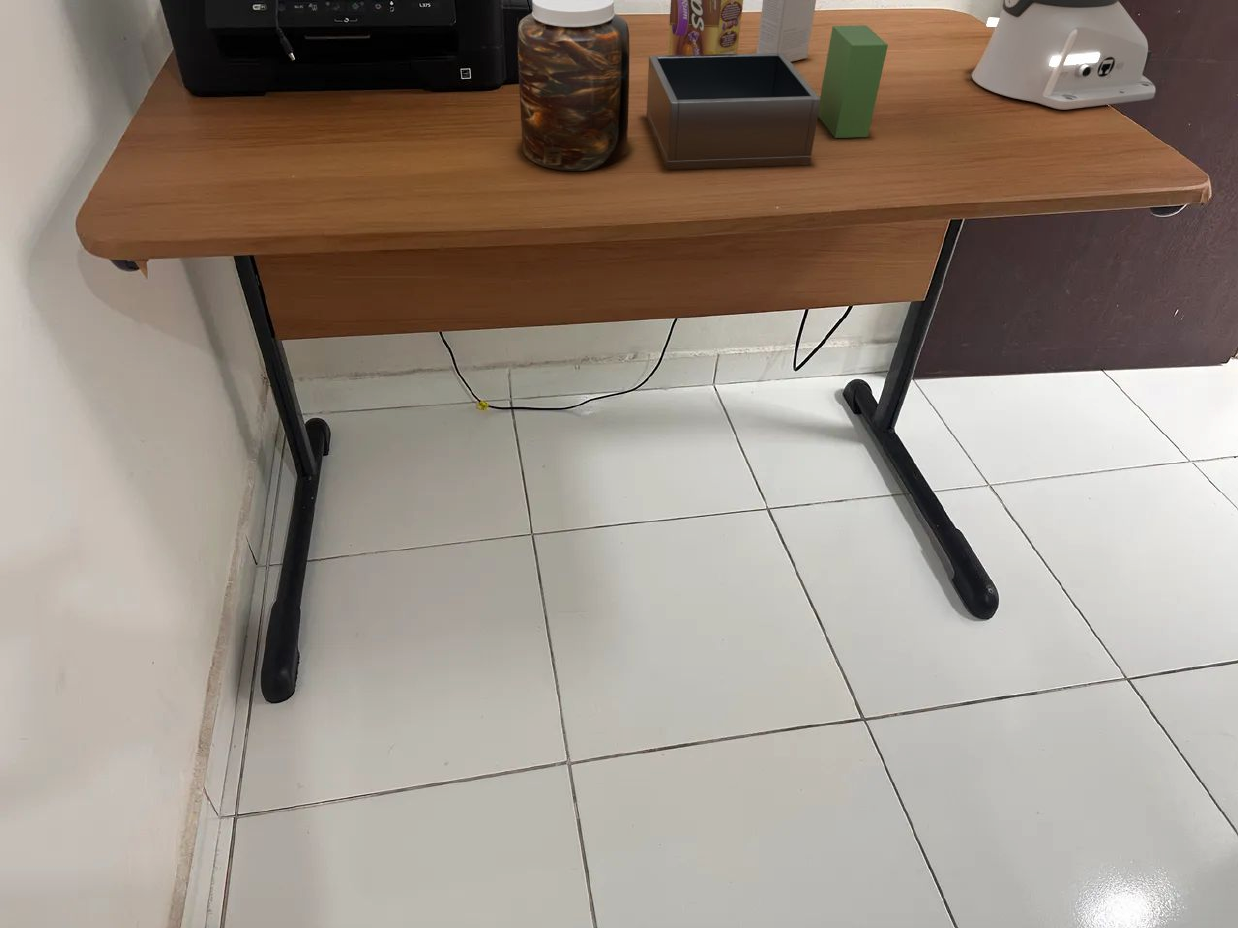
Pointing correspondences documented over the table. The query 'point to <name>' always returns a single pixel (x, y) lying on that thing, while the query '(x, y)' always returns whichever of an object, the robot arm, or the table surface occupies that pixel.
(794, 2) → the cosmetic box
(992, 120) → the table surface
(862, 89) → the block
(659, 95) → the open box
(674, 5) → the candy box
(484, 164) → the table surface
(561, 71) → the jar
